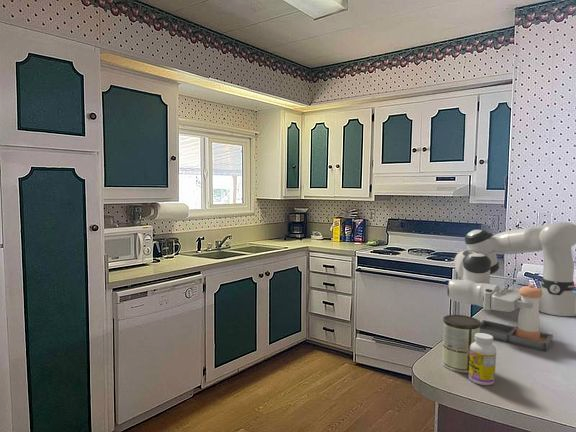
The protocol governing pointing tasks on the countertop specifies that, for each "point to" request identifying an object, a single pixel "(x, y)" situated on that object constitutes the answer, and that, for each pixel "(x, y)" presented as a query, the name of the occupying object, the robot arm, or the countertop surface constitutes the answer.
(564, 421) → the countertop surface
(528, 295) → the salt shaker
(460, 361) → the coffee can
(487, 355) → the supplement bottle
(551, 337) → the tray
